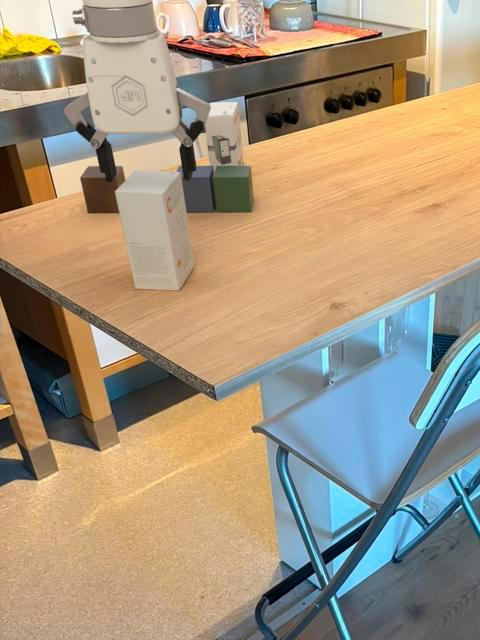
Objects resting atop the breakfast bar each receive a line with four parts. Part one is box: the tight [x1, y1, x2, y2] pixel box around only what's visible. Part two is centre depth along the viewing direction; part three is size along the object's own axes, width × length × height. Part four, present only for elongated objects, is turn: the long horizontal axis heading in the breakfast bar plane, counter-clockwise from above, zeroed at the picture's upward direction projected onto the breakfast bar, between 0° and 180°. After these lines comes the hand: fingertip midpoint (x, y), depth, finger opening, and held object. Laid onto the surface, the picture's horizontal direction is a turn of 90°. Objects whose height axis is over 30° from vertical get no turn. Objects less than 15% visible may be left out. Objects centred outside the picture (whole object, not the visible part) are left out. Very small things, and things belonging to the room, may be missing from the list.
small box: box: [115, 170, 196, 292], centre depth 107 cm, size 8×6×13 cm
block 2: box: [175, 165, 216, 213], centre depth 130 cm, size 6×6×6 cm
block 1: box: [79, 165, 126, 214], centre depth 129 cm, size 6×6×6 cm
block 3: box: [213, 165, 255, 213], centre depth 130 cm, size 6×6×6 cm
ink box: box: [204, 101, 245, 172], centre depth 137 cm, size 9×5×12 cm, turn 3°
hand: (150, 177), depth 103 cm, fingers open, 9 cm apart
